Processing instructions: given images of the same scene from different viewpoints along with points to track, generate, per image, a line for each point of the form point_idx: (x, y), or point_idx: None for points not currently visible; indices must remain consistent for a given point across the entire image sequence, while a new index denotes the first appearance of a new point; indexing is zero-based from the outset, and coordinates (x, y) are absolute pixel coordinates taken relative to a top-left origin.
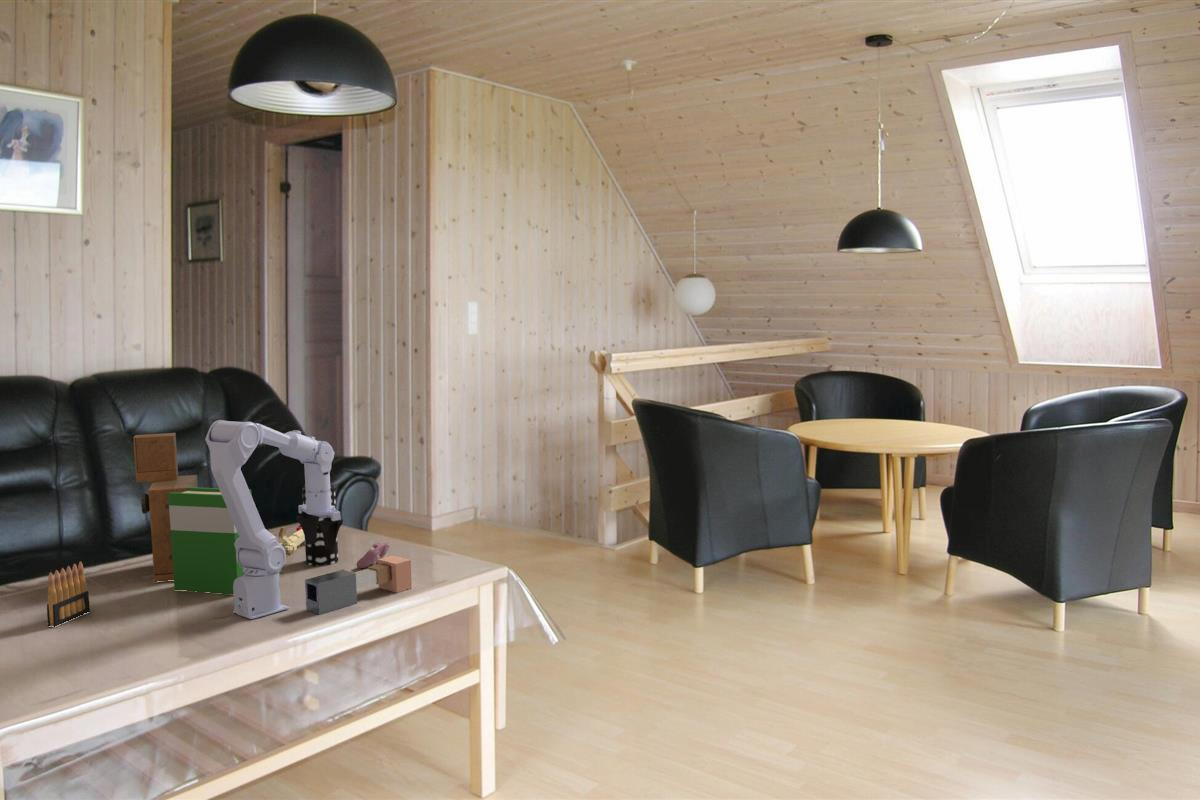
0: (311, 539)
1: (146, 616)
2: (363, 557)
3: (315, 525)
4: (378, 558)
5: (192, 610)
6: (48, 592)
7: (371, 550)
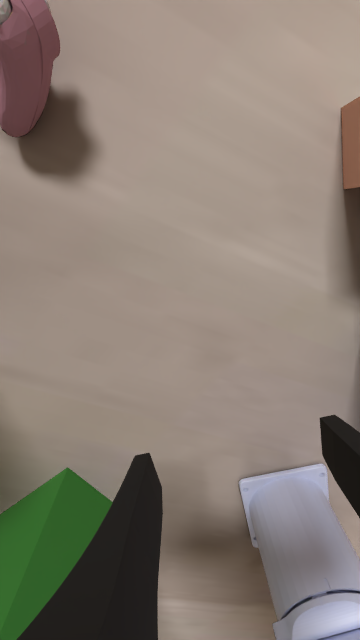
0: (154, 497)
1: (158, 628)
2: (16, 92)
3: (129, 573)
4: (48, 7)
5: (175, 581)
6: None
7: (5, 16)
